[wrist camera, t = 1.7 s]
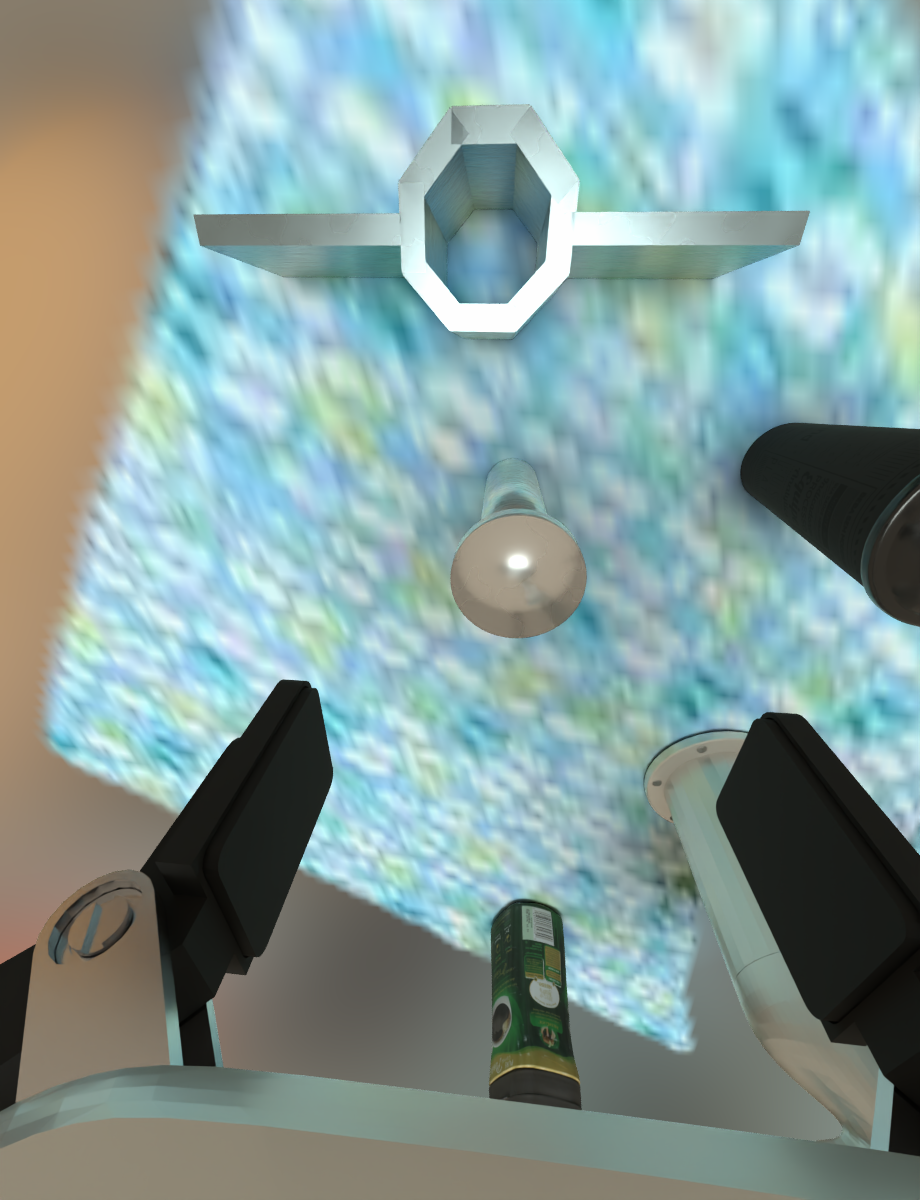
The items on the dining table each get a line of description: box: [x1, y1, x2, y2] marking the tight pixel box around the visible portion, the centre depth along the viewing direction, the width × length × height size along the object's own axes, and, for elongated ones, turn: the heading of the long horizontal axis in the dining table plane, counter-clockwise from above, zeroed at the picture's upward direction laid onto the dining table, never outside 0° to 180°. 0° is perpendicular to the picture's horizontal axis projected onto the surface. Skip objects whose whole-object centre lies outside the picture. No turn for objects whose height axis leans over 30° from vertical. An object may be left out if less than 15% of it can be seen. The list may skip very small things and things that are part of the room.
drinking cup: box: [741, 423, 920, 627], centre depth 19 cm, size 8×8×20 cm
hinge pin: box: [450, 458, 587, 638], centre depth 23 cm, size 5×5×15 cm
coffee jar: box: [489, 903, 582, 1110], centre depth 48 cm, size 10×8×19 cm
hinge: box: [194, 104, 810, 340], centre depth 21 cm, size 24×7×8 cm, turn 89°
